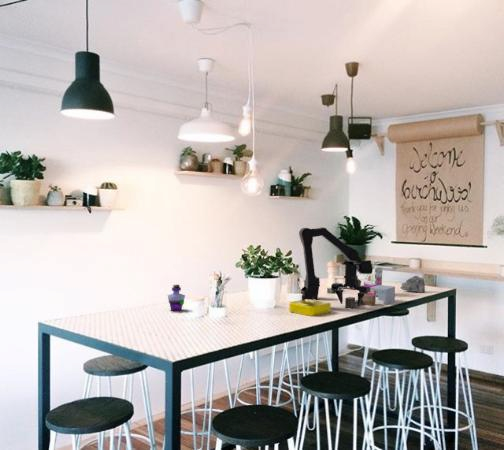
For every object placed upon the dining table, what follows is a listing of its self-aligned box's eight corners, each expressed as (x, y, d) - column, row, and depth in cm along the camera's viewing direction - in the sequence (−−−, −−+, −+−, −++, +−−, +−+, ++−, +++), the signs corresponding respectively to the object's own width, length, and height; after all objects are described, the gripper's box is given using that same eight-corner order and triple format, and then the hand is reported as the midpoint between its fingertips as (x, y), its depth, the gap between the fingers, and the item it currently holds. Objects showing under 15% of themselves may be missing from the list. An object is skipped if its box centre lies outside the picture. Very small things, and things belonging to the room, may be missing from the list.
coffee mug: (320, 300, 282) (320, 281, 282) (304, 300, 283) (304, 281, 282) (318, 296, 294) (318, 279, 294) (302, 296, 294) (303, 278, 294)
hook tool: (357, 309, 257) (357, 299, 257) (345, 308, 260) (345, 298, 260) (373, 303, 275) (373, 294, 274) (361, 302, 278) (361, 293, 278)
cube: (372, 306, 268) (372, 296, 268) (362, 305, 271) (362, 295, 271) (375, 304, 272) (375, 295, 272) (366, 303, 275) (366, 294, 275)
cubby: (385, 304, 272) (385, 289, 272) (368, 302, 277) (369, 287, 277) (394, 301, 284) (394, 286, 283) (378, 299, 289) (378, 285, 288)
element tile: (287, 311, 248) (287, 301, 248) (307, 307, 259) (307, 298, 259) (312, 316, 238) (312, 306, 238) (332, 312, 248) (332, 302, 248)
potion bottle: (181, 312, 243) (182, 286, 242) (164, 311, 244) (164, 285, 244) (187, 308, 251) (188, 283, 251) (170, 307, 253) (170, 283, 252)
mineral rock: (399, 291, 321) (399, 275, 321) (409, 289, 328) (409, 273, 328) (418, 294, 312) (418, 277, 311) (427, 292, 319) (428, 276, 318)
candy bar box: (382, 296, 300) (382, 267, 300) (375, 296, 298) (375, 268, 298) (369, 293, 310) (370, 265, 310) (363, 293, 308) (363, 266, 308)
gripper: (374, 273, 263) (374, 304, 263) (340, 271, 273) (339, 300, 273) (366, 275, 253) (365, 308, 254) (331, 272, 264) (330, 303, 264)
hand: (350, 305), depth 262 cm, fingers open, 9 cm apart
